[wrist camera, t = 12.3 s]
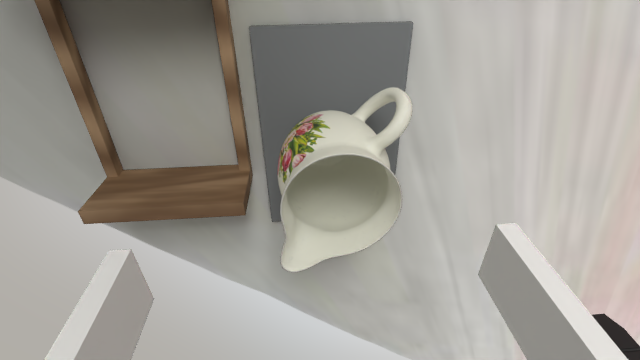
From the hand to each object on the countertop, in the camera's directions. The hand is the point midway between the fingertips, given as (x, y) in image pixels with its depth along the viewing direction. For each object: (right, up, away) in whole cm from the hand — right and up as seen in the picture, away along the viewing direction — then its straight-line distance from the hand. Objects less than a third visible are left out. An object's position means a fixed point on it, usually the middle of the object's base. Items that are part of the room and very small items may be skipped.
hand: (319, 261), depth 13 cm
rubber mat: (+1, +8, +28) cm, 29 cm away
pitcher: (+1, +8, +27) cm, 28 cm away
